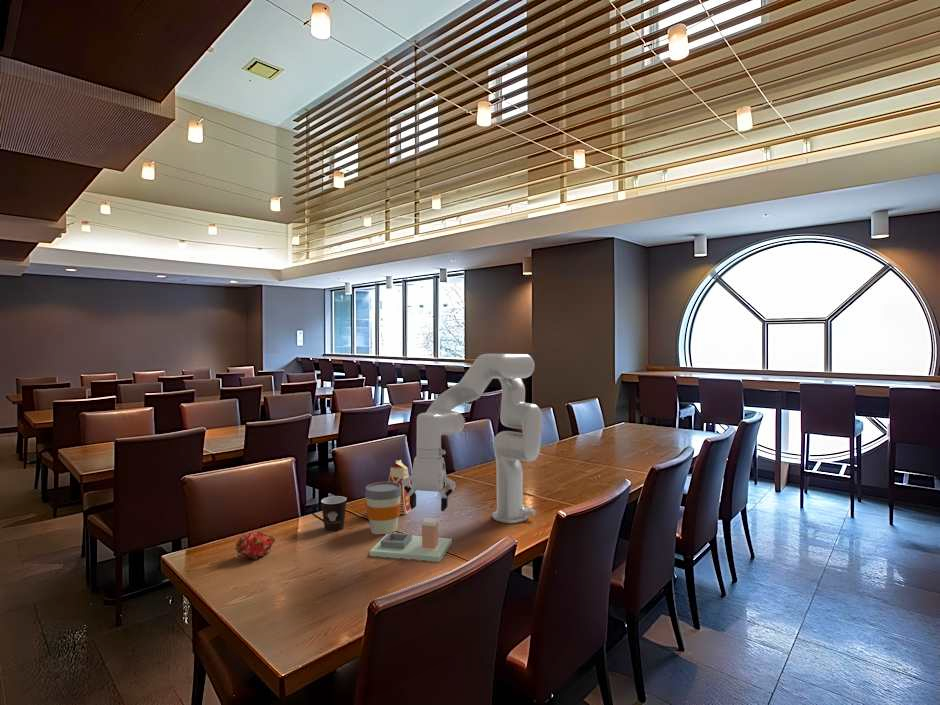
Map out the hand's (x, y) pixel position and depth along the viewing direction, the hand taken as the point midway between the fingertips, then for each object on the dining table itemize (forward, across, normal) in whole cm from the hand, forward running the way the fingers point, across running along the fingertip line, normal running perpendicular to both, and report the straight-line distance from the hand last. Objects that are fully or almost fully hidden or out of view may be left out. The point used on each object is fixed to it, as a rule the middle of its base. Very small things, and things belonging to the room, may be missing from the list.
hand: (428, 508), depth 155 cm
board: (+13, +6, -1) cm, 14 cm away
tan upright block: (+12, 0, -1) cm, 12 cm away
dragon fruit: (+14, +50, +13) cm, 54 cm away
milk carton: (+13, +22, -35) cm, 43 cm away
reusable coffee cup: (+13, +20, -15) cm, 29 cm away
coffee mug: (+14, +40, -13) cm, 44 cm away
